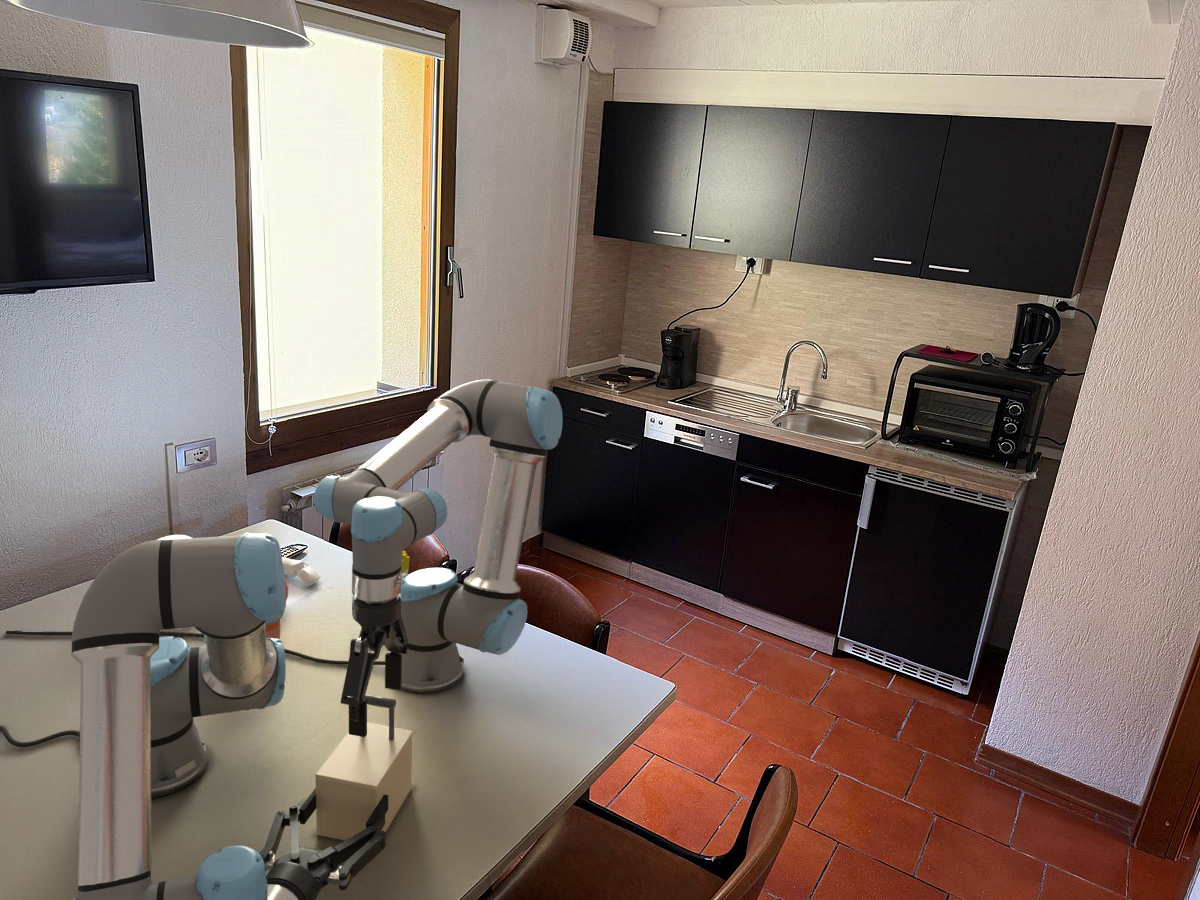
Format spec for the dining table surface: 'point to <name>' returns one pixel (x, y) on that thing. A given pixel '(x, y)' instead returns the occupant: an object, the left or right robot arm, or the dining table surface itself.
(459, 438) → the right robot arm
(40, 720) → the dining table surface
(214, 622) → the left robot arm
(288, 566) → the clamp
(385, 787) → the chest
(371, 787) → the lid
